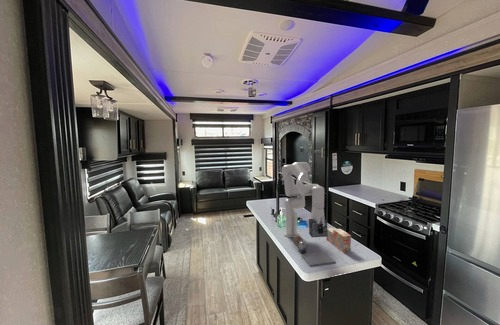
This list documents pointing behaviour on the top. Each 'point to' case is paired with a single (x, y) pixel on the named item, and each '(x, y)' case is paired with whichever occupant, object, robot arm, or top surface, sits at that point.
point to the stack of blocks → (339, 239)
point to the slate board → (318, 258)
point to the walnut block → (297, 240)
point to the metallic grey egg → (302, 246)
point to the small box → (314, 229)
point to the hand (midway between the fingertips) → (317, 231)
